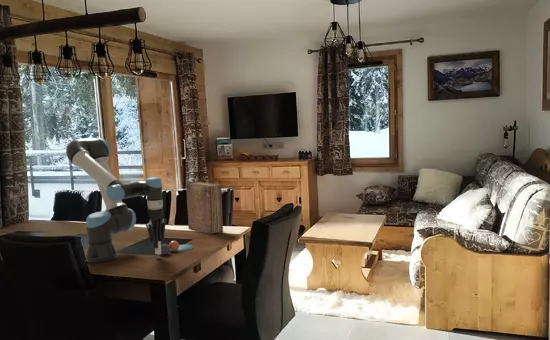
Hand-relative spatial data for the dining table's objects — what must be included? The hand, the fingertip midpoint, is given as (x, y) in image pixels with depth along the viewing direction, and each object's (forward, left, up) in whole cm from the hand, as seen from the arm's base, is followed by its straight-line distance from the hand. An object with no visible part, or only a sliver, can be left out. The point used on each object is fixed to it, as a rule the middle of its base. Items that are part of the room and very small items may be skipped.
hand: (158, 253), depth 228 cm
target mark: (+17, +6, -2) cm, 18 cm away
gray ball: (+5, +2, +1) cm, 6 cm away
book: (+49, +30, -2) cm, 58 cm away
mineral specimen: (+24, +51, -2) cm, 56 cm away
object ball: (+12, +4, +1) cm, 12 cm away
